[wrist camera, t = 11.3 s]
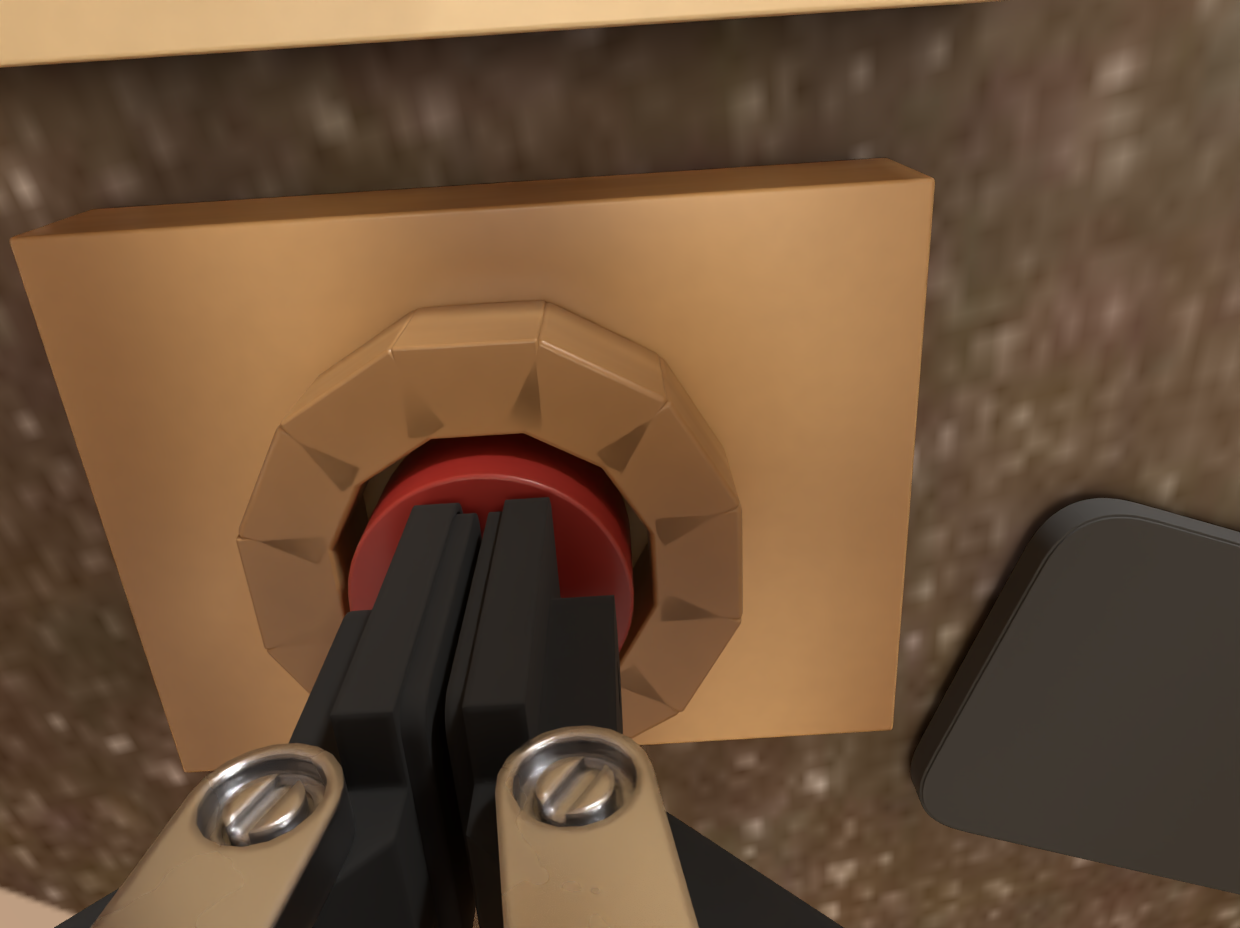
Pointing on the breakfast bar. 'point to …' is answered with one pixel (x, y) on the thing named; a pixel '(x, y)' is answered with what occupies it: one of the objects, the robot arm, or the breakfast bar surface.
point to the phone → (1102, 699)
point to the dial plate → (339, 22)
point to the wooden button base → (509, 418)
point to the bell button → (481, 484)
